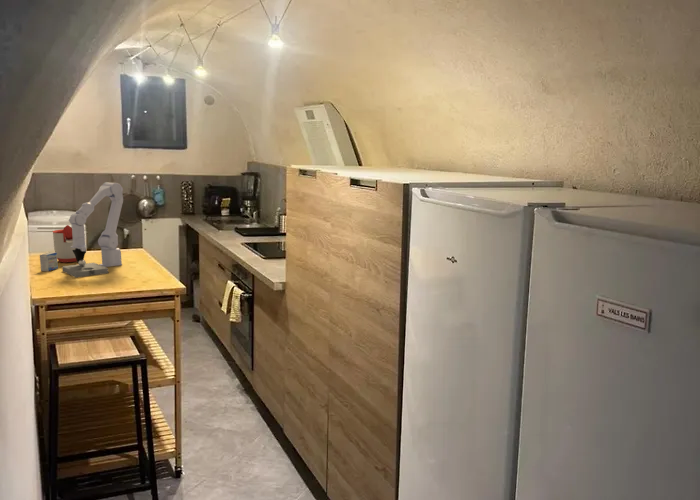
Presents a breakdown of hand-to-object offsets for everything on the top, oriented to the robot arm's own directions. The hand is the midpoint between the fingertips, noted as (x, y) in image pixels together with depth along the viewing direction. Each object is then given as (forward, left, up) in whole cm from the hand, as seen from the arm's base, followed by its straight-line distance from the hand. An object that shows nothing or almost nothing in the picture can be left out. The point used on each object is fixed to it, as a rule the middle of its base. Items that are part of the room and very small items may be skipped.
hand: (80, 263), depth 336 cm
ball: (0, +3, +1) cm, 3 cm away
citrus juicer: (-4, -30, -4) cm, 30 cm away
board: (0, +6, -4) cm, 7 cm away
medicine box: (+12, -12, -4) cm, 17 cm away
